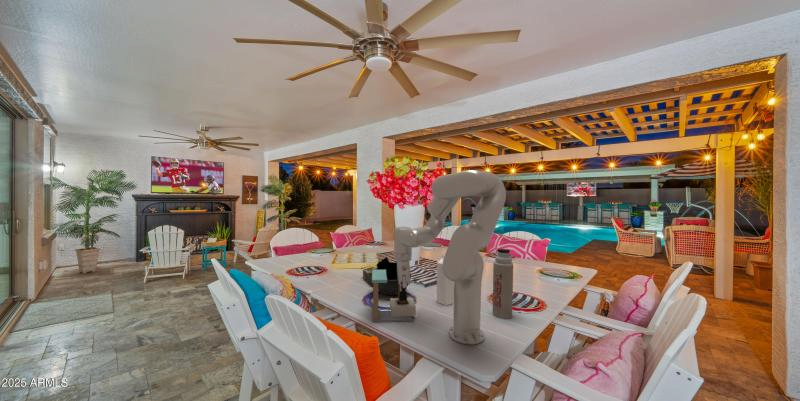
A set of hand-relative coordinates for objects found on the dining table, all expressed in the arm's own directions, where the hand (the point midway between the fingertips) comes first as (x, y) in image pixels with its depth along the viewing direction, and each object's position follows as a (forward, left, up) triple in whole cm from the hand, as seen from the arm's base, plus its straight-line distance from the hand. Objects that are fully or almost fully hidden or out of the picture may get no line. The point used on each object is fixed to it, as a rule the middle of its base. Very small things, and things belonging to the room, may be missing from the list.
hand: (402, 298), depth 125 cm
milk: (+11, -21, -7) cm, 25 cm away
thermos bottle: (-4, -42, -7) cm, 43 cm away
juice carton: (+45, +12, -7) cm, 47 cm away
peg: (0, 0, -4) cm, 4 cm away
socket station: (0, +4, -7) cm, 8 cm away
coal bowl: (+24, +4, -7) cm, 25 cm away
